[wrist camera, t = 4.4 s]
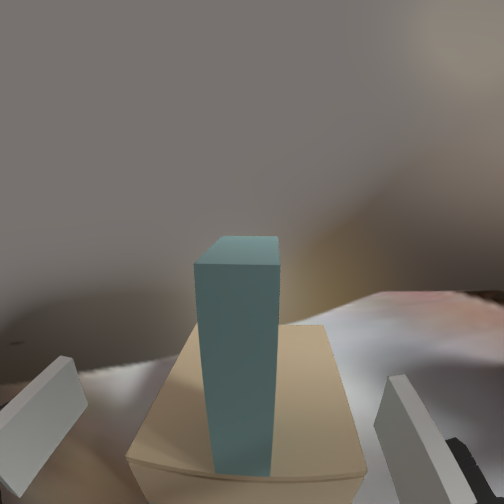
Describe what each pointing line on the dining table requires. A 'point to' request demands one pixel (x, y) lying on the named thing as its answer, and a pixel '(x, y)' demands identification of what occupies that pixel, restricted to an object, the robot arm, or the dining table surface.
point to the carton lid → (250, 383)
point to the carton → (239, 489)
